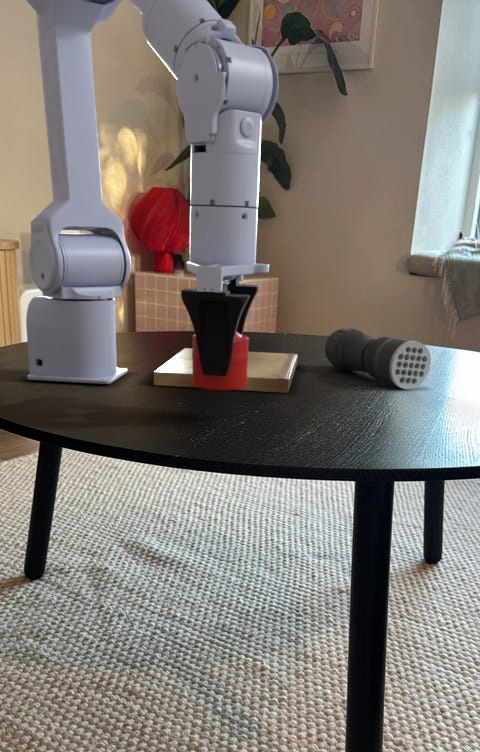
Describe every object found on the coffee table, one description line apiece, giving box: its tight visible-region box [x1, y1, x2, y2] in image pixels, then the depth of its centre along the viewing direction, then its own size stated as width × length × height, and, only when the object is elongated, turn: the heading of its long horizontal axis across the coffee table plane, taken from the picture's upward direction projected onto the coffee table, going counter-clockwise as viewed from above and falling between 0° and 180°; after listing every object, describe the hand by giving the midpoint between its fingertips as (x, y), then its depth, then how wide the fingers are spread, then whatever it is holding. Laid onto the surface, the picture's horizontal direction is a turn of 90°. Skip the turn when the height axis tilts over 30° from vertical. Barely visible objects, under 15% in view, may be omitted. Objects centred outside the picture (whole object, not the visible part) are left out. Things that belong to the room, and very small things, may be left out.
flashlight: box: [324, 327, 432, 390], centre depth 92 cm, size 15×5×5 cm, turn 26°
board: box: [153, 347, 298, 394], centre depth 91 cm, size 15×18×2 cm
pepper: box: [192, 332, 250, 391], centre depth 68 cm, size 5×5×6 cm
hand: (219, 369), depth 68 cm, fingers closed on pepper, 5 cm apart
